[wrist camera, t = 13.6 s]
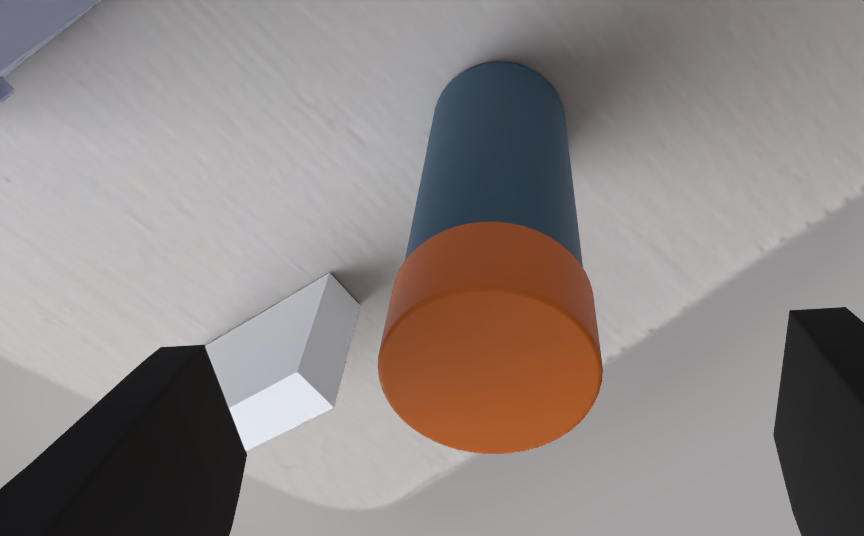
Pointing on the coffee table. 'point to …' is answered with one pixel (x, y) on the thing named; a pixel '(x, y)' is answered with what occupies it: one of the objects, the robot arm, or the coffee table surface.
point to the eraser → (286, 360)
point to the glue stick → (493, 275)
